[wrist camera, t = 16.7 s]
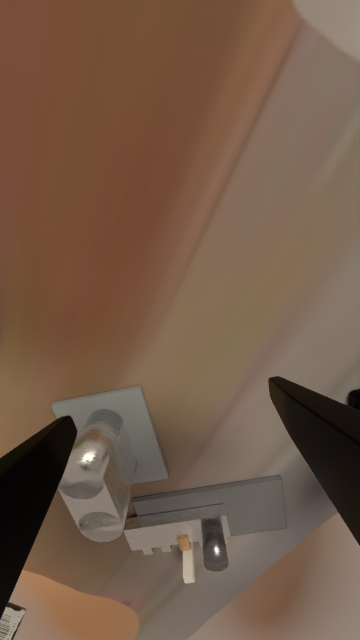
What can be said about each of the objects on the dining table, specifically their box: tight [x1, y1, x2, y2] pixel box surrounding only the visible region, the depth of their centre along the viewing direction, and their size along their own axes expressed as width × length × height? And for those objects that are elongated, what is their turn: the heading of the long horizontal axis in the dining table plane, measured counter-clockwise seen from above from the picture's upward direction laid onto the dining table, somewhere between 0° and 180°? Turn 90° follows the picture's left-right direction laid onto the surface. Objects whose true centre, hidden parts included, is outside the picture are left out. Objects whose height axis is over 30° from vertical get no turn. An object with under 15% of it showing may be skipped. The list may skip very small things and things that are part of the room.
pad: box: [51, 386, 169, 484], centre depth 23 cm, size 10×13×1 cm
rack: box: [123, 504, 231, 571], centre depth 24 cm, size 13×5×4 cm, turn 102°
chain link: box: [58, 409, 137, 542], centre depth 20 cm, size 4×10×6 cm, turn 12°
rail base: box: [132, 475, 287, 584], centre depth 24 cm, size 19×9×4 cm, turn 102°
